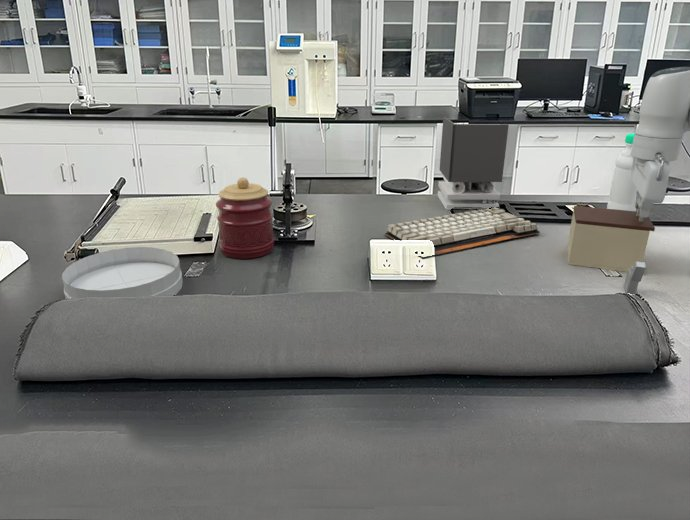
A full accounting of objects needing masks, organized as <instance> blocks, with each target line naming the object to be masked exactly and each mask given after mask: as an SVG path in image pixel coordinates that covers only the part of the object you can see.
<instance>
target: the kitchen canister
mask: <svg viewBox="0 0 690 520" xmlns="http://www.w3.org/2000/svg"><path fill="white" fill-rule="evenodd" d="M268 194H269V190H268V189H266V188H264V187H262V186H261V185H260V184H257V183H252V182H251V183H250V182H249V180H248V178H246V177H239V178H238V179H237V182H236V183H234V184H230V185H227V186H225V187H224V189H222V190H220V191H219V192H218V196H219V197H220V199H218V200H216V203H215V207H216V208H217V210H218V215H217V217H216V220H217V225H218V235H219V241H218V243H219V248H220V251H221V254H223V255H224V256H226V257H228V258H233V259H245V260H246V259H254V258H259V257H264V256H266V255H268V254H270V253H271V252H272V251H273V250H274V247H275V237H274V224H273V222H274V221H273V218H274V214H273V212H272V210H271V206H272V205H273V200H272V199H271V198H270V197H269V196H268Z"/></svg>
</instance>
